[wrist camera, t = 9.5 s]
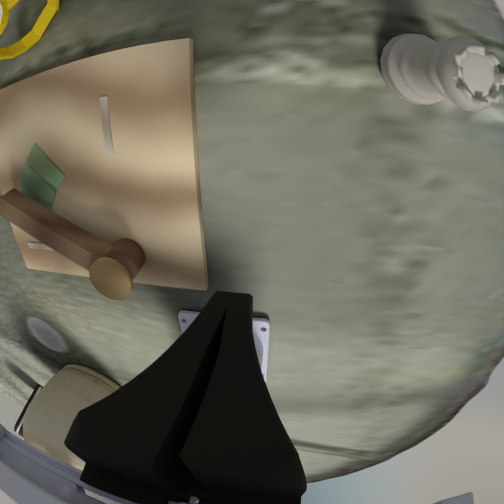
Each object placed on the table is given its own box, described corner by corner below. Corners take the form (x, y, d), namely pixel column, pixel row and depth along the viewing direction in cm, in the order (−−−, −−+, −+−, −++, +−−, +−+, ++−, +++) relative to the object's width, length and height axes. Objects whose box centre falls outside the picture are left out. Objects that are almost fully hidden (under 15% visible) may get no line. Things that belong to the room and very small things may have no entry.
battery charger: (48, 401, 50) (28, 442, 40) (34, 390, 49) (13, 431, 39) (53, 394, 46) (30, 439, 37) (37, 383, 45) (13, 427, 36)
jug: (90, 349, 34) (10, 520, 13) (163, 414, 40) (119, 561, 20) (40, 358, 39) (-25, 481, 18) (103, 413, 46) (59, 528, 25)
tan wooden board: (208, 284, 25) (206, 291, 24) (31, 263, 27) (26, 268, 26) (193, 38, 15) (188, 37, 14) (-11, 95, 17) (-18, 98, 16)
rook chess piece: (362, 57, 14) (410, 50, 8) (415, 22, 12) (484, 4, 6) (406, 116, 16) (470, 151, 9) (455, 81, 14) (535, 100, 7)
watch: (59, -16, 12) (7, -28, 7) (77, -4, 13) (24, -16, 8) (18, 46, 15) (-36, 51, 10) (33, 61, 16) (-22, 68, 10)
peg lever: (153, 247, 22) (134, 276, 20) (143, 278, 24) (125, 307, 21) (21, 175, 20) (-6, 192, 17) (19, 207, 22) (-5, 226, 19)
